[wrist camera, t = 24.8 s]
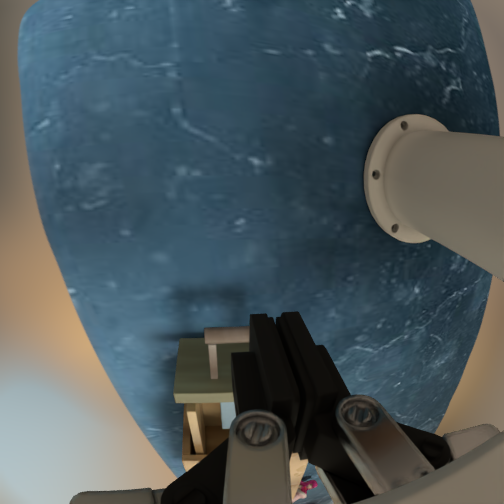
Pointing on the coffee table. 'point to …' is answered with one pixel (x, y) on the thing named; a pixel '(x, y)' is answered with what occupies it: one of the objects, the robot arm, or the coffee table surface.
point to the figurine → (304, 489)
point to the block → (227, 414)
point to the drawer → (207, 381)
